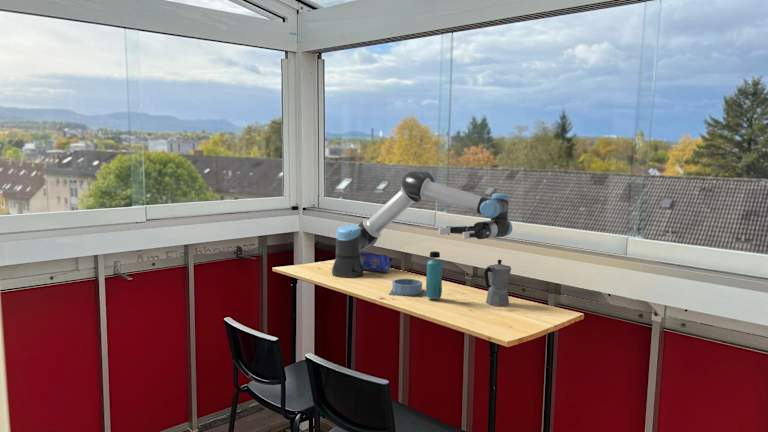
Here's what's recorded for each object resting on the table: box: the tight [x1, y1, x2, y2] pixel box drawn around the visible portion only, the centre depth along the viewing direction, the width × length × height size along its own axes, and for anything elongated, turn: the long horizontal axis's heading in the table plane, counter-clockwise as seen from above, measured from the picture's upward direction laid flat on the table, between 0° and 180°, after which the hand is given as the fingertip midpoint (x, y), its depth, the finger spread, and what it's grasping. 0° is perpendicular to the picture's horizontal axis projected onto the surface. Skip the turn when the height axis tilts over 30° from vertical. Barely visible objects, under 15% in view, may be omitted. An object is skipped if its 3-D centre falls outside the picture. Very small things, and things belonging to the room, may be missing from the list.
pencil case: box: [360, 252, 393, 274], centre depth 287 cm, size 22×9×10 cm, turn 62°
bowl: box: [391, 278, 423, 297], centre depth 244 cm, size 12×12×4 cm
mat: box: [388, 288, 426, 298], centre depth 244 cm, size 14×14×1 cm
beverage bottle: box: [425, 251, 443, 300], centre depth 232 cm, size 6×7×20 cm
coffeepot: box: [483, 259, 512, 308], centre depth 229 cm, size 15×9×18 cm, turn 129°
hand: (450, 233), depth 236 cm, fingers open, 13 cm apart
